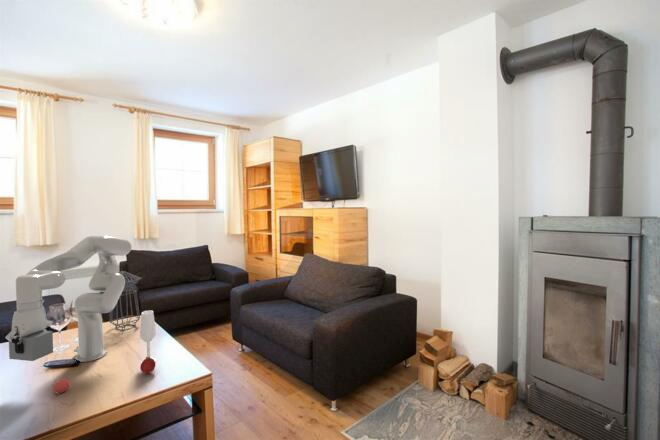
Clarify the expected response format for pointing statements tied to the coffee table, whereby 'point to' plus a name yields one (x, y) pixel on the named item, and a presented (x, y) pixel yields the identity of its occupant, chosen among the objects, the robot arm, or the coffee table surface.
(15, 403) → the coffee table surface
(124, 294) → the geometric lantern
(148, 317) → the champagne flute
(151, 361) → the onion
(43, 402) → the coffee table surface
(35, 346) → the grey rectangular box
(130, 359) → the coffee table surface
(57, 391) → the ball
